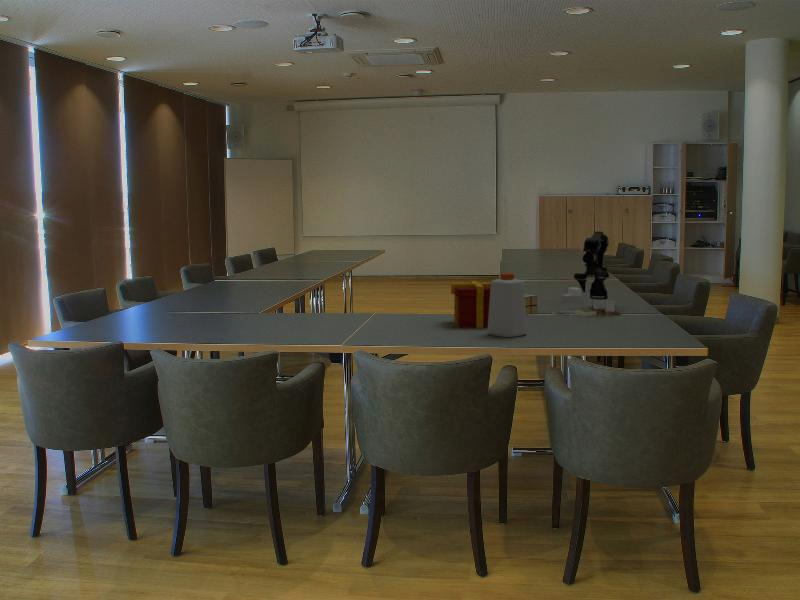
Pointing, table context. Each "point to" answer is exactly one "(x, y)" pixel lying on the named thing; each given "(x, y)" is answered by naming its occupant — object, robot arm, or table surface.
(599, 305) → the block
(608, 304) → the block
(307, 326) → the table surface
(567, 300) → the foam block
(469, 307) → the gift box
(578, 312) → the button console
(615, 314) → the pallet board
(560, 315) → the tray
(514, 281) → the plastic bottle
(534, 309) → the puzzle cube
